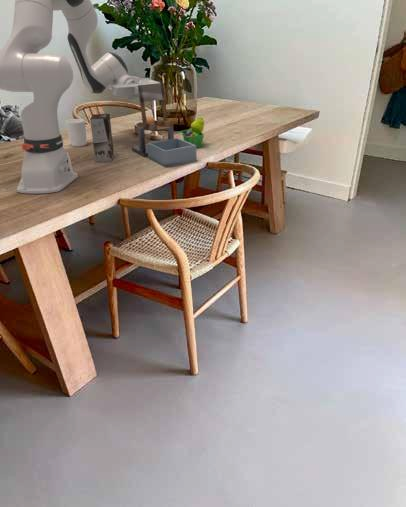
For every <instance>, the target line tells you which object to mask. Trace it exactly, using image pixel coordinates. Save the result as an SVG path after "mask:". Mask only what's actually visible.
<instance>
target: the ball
mask: <svg viewBox="0 0 406 507" xmlns="http://www.w3.org/2000/svg"><path fill="white" fill-rule="evenodd" d="M146 120H147V123H152V124H154V123H155V121H154V120H155V119H154V117H152V116H146Z"/></svg>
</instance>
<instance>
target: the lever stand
mask: <svg viewBox="0 0 406 507" xmlns="http://www.w3.org/2000/svg"><path fill="white" fill-rule="evenodd" d="M137 132H138V142H139V143H138V145H136V146H132V147H131V151H132V152H133V153H135V154H136V155H139V156H141V157H143V158H148V146H147V144H146V139H145V137H146V135H145V130H144V128H143V127H139V126H138V127H137ZM174 132H175V130H174V127H173V128H171V130H167V140H168V139H174V138H175V136H174V135H175V134H174Z"/></svg>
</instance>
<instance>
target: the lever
mask: <svg viewBox="0 0 406 507" xmlns="http://www.w3.org/2000/svg"><path fill="white" fill-rule="evenodd" d="M138 91H139V97H138V98H139V105H140V106H139V107H140V113H141V121H142V122H138V124H137V125H138V128H139V127H143V128H144V131H150V132H163V131H165V132H166V131H168V130H171V128H173V129H174V123H173V121H169V120H168V113H167V104H166V103H167V102H166V93H165V83H164V82H159V83H157V84H146V85H138ZM155 101H161V109H162V110H161V112H162V119H163V120H158V119H157V120H155V119H154V121H155V123H154V124H152V123H147V120H146V118H147V115H146V114H147V113H146V107H145V103H146V102H155Z"/></svg>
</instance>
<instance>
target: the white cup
mask: <svg viewBox="0 0 406 507" xmlns="http://www.w3.org/2000/svg"><path fill="white" fill-rule="evenodd" d="M65 125H66V130H67V133H68V139H69V142H70V146H71V147H84V146H86V145H87V143H88V142H87V128H86V127H87V126H86V120H85V119H84V118H74V119H73V118H71V119H67V120H66V121H65Z"/></svg>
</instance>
